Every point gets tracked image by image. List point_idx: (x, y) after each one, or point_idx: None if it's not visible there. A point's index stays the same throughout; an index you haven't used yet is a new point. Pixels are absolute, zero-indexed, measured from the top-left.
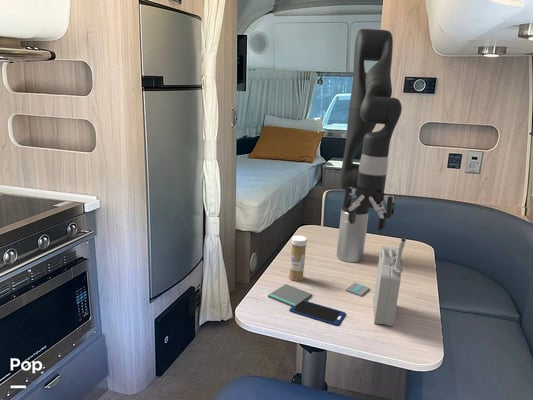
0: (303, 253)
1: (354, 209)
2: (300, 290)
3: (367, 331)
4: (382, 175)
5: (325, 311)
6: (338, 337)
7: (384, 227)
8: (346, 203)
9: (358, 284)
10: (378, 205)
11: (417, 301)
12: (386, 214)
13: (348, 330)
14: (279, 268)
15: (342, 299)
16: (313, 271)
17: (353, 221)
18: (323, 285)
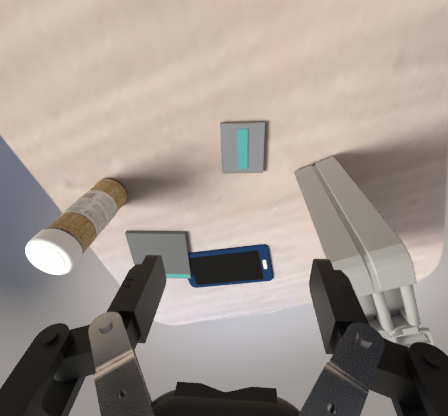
0: (93, 234)
1: (130, 336)
2: (161, 236)
3: None
4: None
5: (237, 262)
6: (285, 297)
7: (345, 278)
8: (70, 392)
9: (233, 127)
10: (310, 407)
11: (399, 91)
12: (393, 404)
13: (291, 278)
14: (52, 178)
15: (236, 206)
16: (106, 133)
17: (160, 274)
18: (172, 181)
